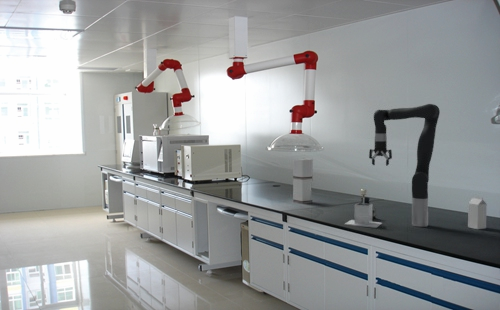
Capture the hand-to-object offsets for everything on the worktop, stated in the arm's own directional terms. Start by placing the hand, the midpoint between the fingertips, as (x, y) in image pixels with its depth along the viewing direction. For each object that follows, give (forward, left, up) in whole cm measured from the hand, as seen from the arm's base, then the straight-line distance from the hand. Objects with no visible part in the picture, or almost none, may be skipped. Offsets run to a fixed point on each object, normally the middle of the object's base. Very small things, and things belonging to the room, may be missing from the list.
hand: (380, 165), depth 315 cm
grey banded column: (+72, -45, -36) cm, 92 cm away
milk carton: (-58, -2, -36) cm, 68 cm away
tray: (+6, +18, -36) cm, 41 cm away
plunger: (+6, +18, -31) cm, 36 cm away
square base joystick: (+6, +18, -36) cm, 41 cm away
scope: (+9, -2, -36) cm, 37 cm away
